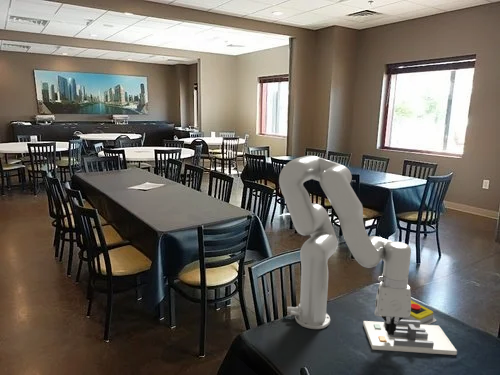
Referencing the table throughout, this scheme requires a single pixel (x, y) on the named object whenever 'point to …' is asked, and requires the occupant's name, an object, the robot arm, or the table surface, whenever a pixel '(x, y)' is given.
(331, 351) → the table surface
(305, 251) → the robot arm
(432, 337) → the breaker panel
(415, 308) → the emergency button
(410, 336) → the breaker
